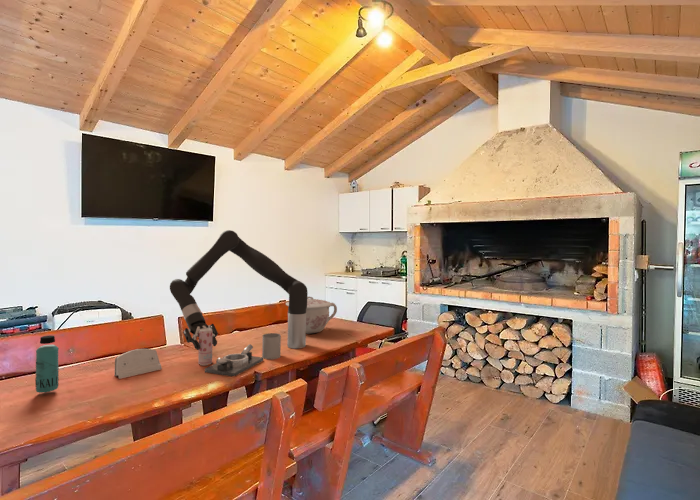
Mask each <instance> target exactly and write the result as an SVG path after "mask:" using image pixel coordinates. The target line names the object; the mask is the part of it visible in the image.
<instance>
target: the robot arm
mask: <svg viewBox="0 0 700 500" xmlns="http://www.w3.org/2000/svg"><path fill="white" fill-rule="evenodd" d="M228 252H231V253H233V254H234V255H236V256H237V257H238V258H239V259H241V260H242V261H244V262H245V264H247V266H249V267H250V268H251V269H252V270H253V271H255V272H256V273H257V274H259V275H260V276H261V277H264V279H266V280H268V281H270V282H273V283H274V284H276V285H277V286H279V288H281V289H283V291H285V292H286V293H287V294H288V302H289V306H287V307H288V308H287V341H286V342H287V346H286V347H288V349H289V348H290V349H303V348H305V347H306V345H307V343H306V342H307V339H306V338H307V334H306V309H307V297H308V294H309V293H308V288H307V286H306V284H305V283H303V282H302V281H300V280H298V279H296V278H294V277H293V276H292V275H290V274H288V273H287V272H286V271H285V270H283V269H282V267H281V266H280V265H279V264H277V263H276V262H275V261H274V260H273V259H272V258H271V257H269V256H267V255H266V254H264V253H263V252H261V251H259V250H257V249H255V248H253V247H251V246H250V245H248V244H247V243H246V242H245V241H244V240H243V239H242V238H241V237H240V236H239V235H238V233H237V232H235V231H234V230H229V229H228V230H224V231H223V232H222V233H221V234H219V237H218V239H217V240H216V241H215V243H213V245H212V247H210V249H208V251H206V253H205V254H203V255H202V256H201V257H200V258H199V259H198V260H197V261H196V262H195V263H194V264H192V266H191V267H189V269H187V270H186V272H185V276H186V279H185V281H184V280H183V279H181V278H175V279H173V280H172V281H171V282H170V284H169V290H170V293H171V295H172V297H173V298H174V300H175V301H176V302H177V303H178V305H179V308H180V310H181V313H182V316H183V318H184V321H185V323H186V325H187V328H184V329H183V332H182V334H183V335H184V337H185V340H186V343H189V344H190V343H192V345H193V347H194V349H196V350H197V351H199V349H200V345H199V339H198V338H199V330H200V329H202V328H211V329H212V331H213V335H212V347H216V346H217V345H218V340H217V336H218V334H219V332H218V330H217V328H216V326H215V324H214V323H211V324H207V323H206V319H205V317H204V315H203V313H202V311H201V309H200V306H199V305H198V304H197V302H196V299H195V297H194V296H193V295H192V293H193V291H194V290H195V288H196V286H197V285H198V283H199V281H200V280H201V279H203V277H204V276H205V275H207V273H208V272H209V271H210V270H211V269H212V267H214V266H215V264H216V263H217V262H218V261H219V260H220V259H221V258H222V257H223V256H224V255H225V254H227V253H228ZM191 334H192V335H191Z"/></svg>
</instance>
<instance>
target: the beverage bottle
mask: <svg viewBox="0 0 700 500" xmlns="http://www.w3.org/2000/svg"><path fill="white" fill-rule="evenodd" d="M39 339H40V340H39V343H40V344H42V345H41V346H39V347H38V348H37V349H36V350H35V379H34V380H35V391H36V392H37V393H42V394H43V393H48V392H53V391H56V390H57V389H59V381H60V379H59V349H60V348H59V347H58V345H56V344H53V343H55V342H56V337H55V335H43V336H41V337H40V338H39ZM40 344H39V345H40Z"/></svg>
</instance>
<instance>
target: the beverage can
mask: <svg viewBox="0 0 700 500" xmlns="http://www.w3.org/2000/svg"><path fill="white" fill-rule="evenodd" d="M212 335H213V331H212V329H211V328H202V329H200V330H199V337H198V343H199V345H200V349H199V350H198V357H197V358H198V365H199V364H200V365H199V366H209V365H208V364H210V365H212V363H213V344H212Z"/></svg>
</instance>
